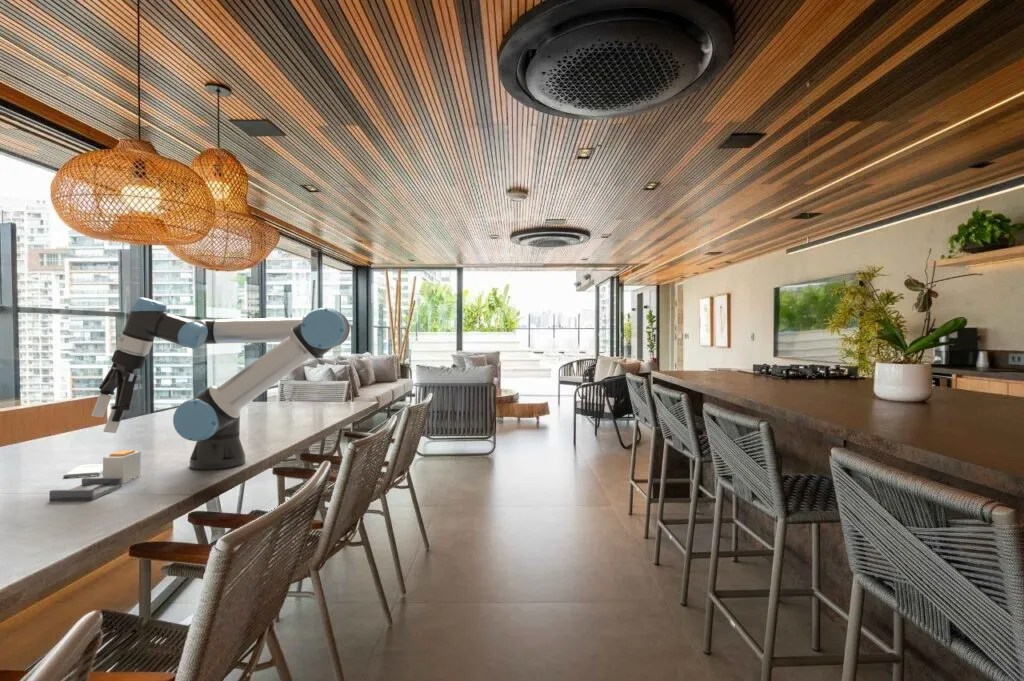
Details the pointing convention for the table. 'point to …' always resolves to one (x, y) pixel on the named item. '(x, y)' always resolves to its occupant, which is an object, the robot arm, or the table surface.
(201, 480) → the table surface
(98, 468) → the external hard drive
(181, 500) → the table surface
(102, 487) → the dark grey tray
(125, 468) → the block
